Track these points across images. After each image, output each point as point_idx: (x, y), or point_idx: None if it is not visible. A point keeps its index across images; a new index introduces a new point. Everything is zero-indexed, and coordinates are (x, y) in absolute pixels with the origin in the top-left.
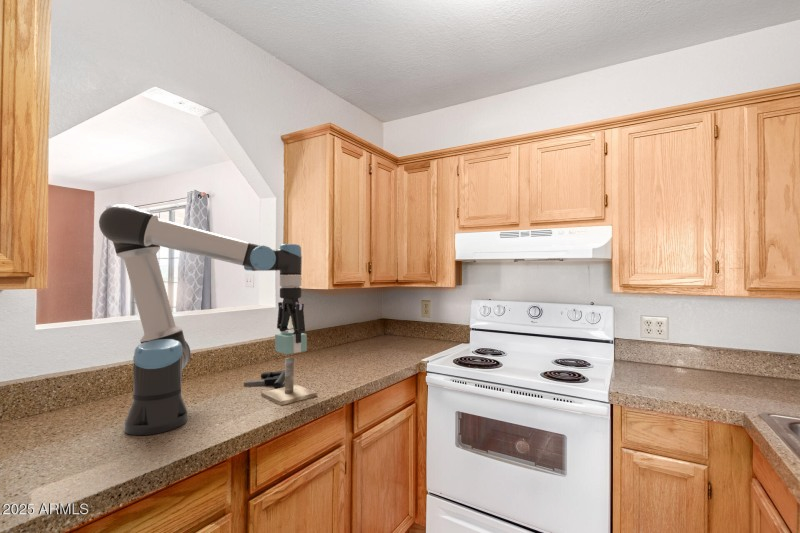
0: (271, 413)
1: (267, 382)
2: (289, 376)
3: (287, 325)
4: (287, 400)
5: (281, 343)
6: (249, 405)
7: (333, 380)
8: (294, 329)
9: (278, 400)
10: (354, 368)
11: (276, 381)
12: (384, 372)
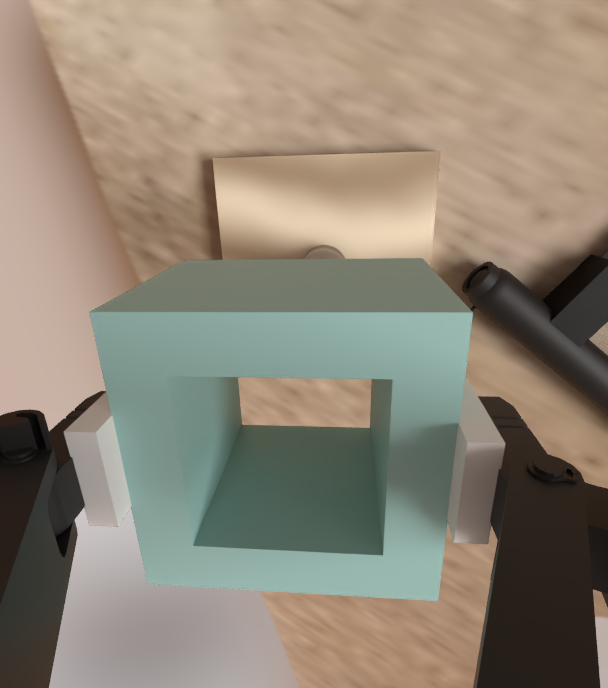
0: (134, 61)
1: (588, 270)
2: None
3: (485, 616)
4: (217, 198)
5: (265, 282)
6: (327, 16)
7: None
8: (16, 486)
9: (237, 158)
10: (470, 663)
11: (498, 286)
12: (326, 681)
